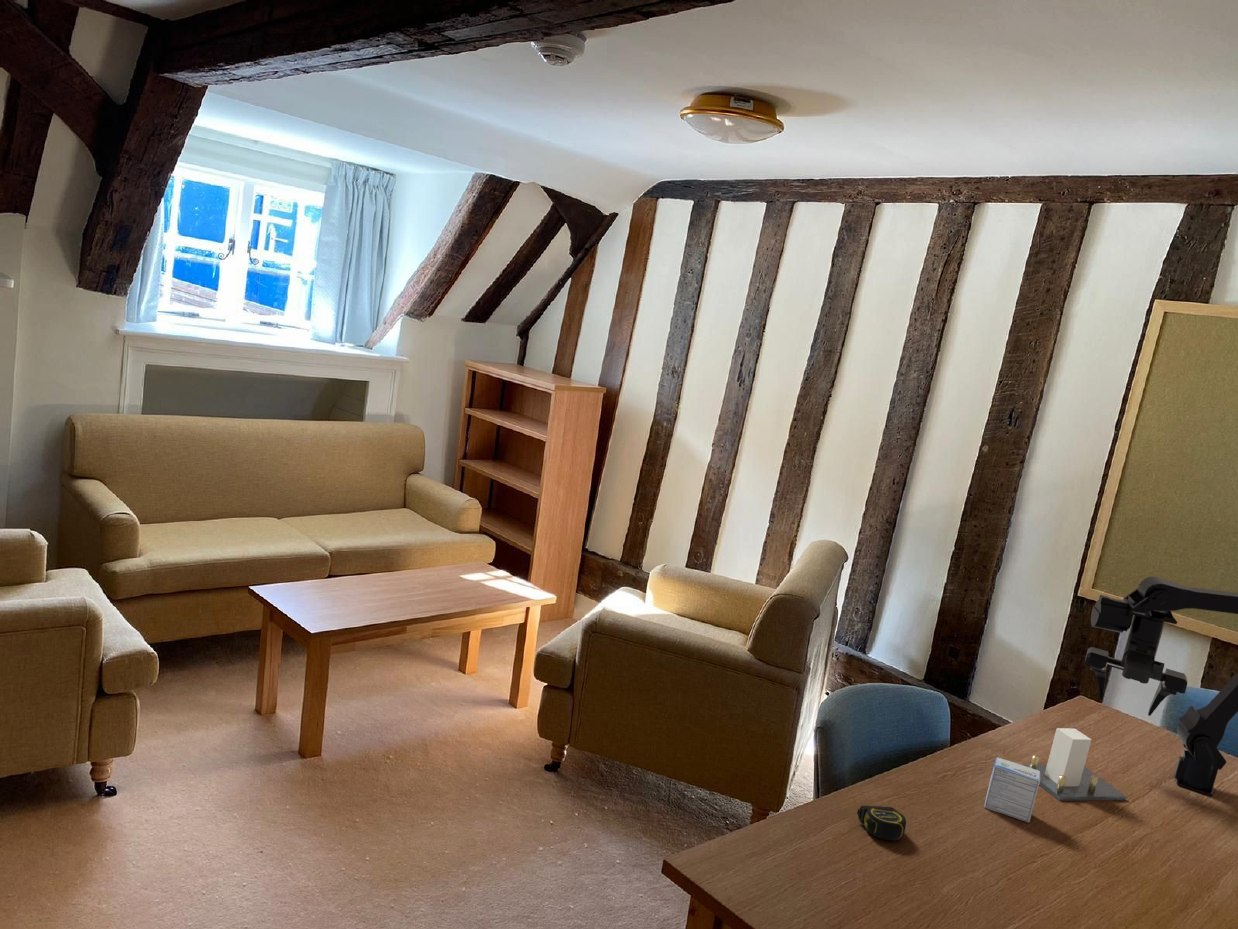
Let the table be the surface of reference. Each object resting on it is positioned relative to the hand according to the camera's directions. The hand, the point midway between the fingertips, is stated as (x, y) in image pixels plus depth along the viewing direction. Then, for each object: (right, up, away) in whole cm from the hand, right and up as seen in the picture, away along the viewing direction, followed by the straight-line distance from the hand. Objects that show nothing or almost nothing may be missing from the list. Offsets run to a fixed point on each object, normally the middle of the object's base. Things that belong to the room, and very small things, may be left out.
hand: (1124, 707), depth 201 cm
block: (-18, -12, -11) cm, 24 cm away
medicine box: (-35, -13, -25) cm, 45 cm away
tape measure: (-62, -11, -39) cm, 75 cm away
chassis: (-16, -13, -10) cm, 23 cm away
